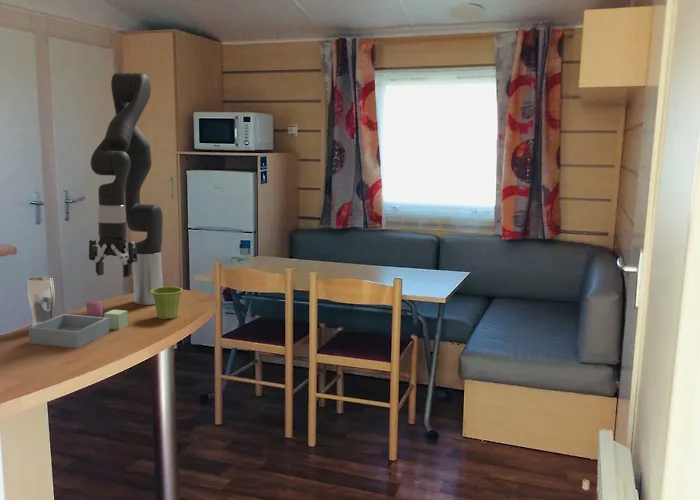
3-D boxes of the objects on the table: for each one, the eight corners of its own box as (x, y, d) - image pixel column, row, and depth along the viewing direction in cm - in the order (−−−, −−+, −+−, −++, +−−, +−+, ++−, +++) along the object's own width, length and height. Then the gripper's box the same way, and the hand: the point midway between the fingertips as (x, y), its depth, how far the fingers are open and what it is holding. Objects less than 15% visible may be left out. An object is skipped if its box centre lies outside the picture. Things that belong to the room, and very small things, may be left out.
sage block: (113, 324, 194) (113, 309, 193) (127, 325, 193) (127, 310, 192) (105, 328, 189) (104, 313, 189) (119, 329, 188) (118, 314, 188)
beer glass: (30, 326, 189) (27, 276, 187) (56, 324, 192) (53, 275, 189) (29, 333, 183) (26, 281, 180) (56, 331, 186) (53, 280, 183)
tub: (64, 328, 188) (63, 313, 188) (109, 332, 185) (108, 317, 185) (29, 343, 174) (28, 327, 174) (77, 348, 171) (77, 332, 171)
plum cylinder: (93, 319, 198) (92, 300, 197) (105, 320, 198) (105, 301, 197) (84, 322, 194) (83, 303, 193) (97, 324, 193) (96, 304, 192)
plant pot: (171, 322, 197) (170, 294, 195) (145, 318, 200) (144, 291, 199) (189, 315, 206) (188, 288, 204) (164, 311, 209) (163, 285, 207)
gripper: (141, 220, 189) (142, 275, 191) (98, 218, 192) (99, 272, 194) (127, 223, 182) (128, 279, 184) (82, 220, 185) (83, 276, 187)
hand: (113, 275), depth 189 cm, fingers open, 8 cm apart
